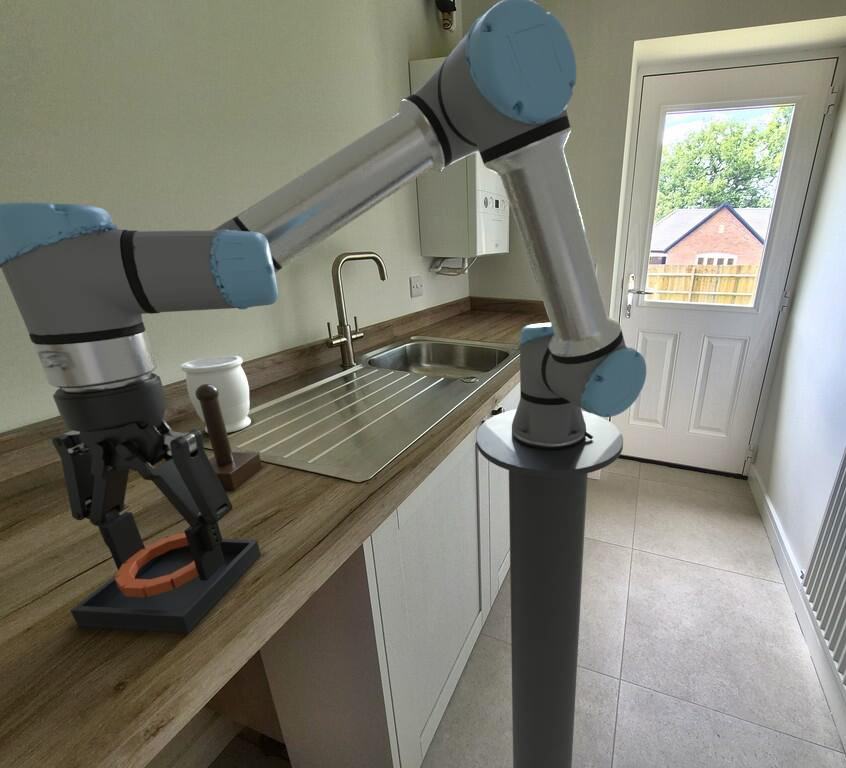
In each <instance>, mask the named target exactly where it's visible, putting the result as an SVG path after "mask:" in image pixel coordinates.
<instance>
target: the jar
mask: <svg viewBox="0 0 846 768" xmlns="http://www.w3.org/2000/svg"><path fill="white" fill-rule="evenodd" d="M242 364H243V357H242V356H240V355H214V356H208V357H201V358H197V359H193V360H190V361H189V360H188V361H187V362H184V363H182V364H181V365H180V366H181V370H182V371H183V372H184V373H186V377H185V383H186V390H187V394H188V397H189V399H190V402H191V404H192V405H193V407H194V410H195V412H196V414H197V416H198V418H199V419H200V420H201V421H202V422H203V424H206V423H205V419H204V416H203V412H202V408H201V405H200V401H199V400H198V399H197V398H196V395H195V392H196V389H197V388H198V387H199V386H201V385H203V384H211V385H214V386H215V387H216V388H217V389H218V391H219V396H218V400H219V404H220V408H221V412H222V416H223V420H224V423H225V427H226V431H227V434H230V433H234V432H237V431H240V430H243V429H244V428H247V427H248V426H250V425H251V423H252V420H251V418H250V417H249V416H248V415H249V412H250V406H251V405H250V387H249V382H248V378H247V374H246V373H245V371H244V369H243V367H242ZM204 431H205V433H206V434H208V430H207V427H206V426H204Z"/></svg>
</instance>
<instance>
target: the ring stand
mask: <svg viewBox="0 0 846 768" xmlns="http://www.w3.org/2000/svg"><path fill="white" fill-rule="evenodd" d="M195 395H196V398H197V399H198V400H199V401H200V405H201V408H202V412H203V416H204V419H205V423H204V424H205V427H207V430H208V433H207V434H208V438H209V441H210V445H211V449H212V452H213V457H211V458H209V461H210V463H211V465H212V467H213V469H214V471H215V473H216V475H217V477H218V479H219V481H220V483H221V485H222V486H223V488H224V490H231V491H232V490H233V491H234V490H236V489H237V488H239V487H240V486H241V485H242V484H244V483H245V482H246V481H247V480H249V479H250V478H251V477H252V476H254V475H255V474H256V473H257V472H259V471H260V470H261V469H262V468H263V465H262V462H261V457H260V453H259V452H240V451H239V452H238V451H237V452H236V451H232V448H231V443H230V440H229V436H228V433H227V431H226V427H225V423H224V420H223V416H222V412H221V408H220V404H219V400H218V396H219V391H218V389H217V388H216V387H215V386H214V385H211V384H203V385H201V386H199V387H198V388H197V389H196V392H195Z"/></svg>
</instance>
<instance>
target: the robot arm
mask: <svg viewBox="0 0 846 768" xmlns="http://www.w3.org/2000/svg"><path fill="white" fill-rule="evenodd" d="M576 84H577V61H576V56H575V52H574V48H573V45H572V42H571V40H570V37H569V35H568V34H567V32H566V30H565V28H564V27H563V25H562V23H561V22H560V21H559V19H557V17H555V15H554V13H552V12H551V11H547V10H546V9H545V8H543V6H542V5H541V4H540V3H538V2H536V1H534V0H501V1H499V2H497V3H496V4H494V5H493V6H492V7H490V8H489V9H488V11H486V12H485V13H483V14H481V15H479V16H478V17H477V19H475V21H474V22H473V23H472V25H470V28H469V30H468V31H467V33H465V35H464V37H463V38H462V39H461V40H460V41H459V43H458V44H457V45H456V46H455V47H454V49H453V50H452V51H451V52H450V53H449V54H448V55H447V56H446V57H445V59H444V60H443V61H442V62H441V64H440V65H439V66H438V67H437V68H436V70H435V71H434V72H433V73H432V74H431V75H430V77H429V78H428V79H427V80H426V81H425V82H424V83H423V84H422V85H421V86H420V87H419V88H418V89H416V90H415V91H414V92H412V93H411V94H410V95H408V96H407V97H405V98H404V99H402V100H400V101H399V103H398V107H397V113H396V114H395V115H393V116H392V117H391V118H389V119H388V120H386V121H384V122H383V123H381V124H380V125H378V126H376V127H375V128H373V129H372V130H370V131H368V132H367V133H366V134H363V135H361V136H360V137H359V138H357V139H356V140H354V141H352V142H351V143H349V144H348V145H346V146H345V147H343V148H342V149H340V150H338V151H336V152H335V153H333V154H332V155H330V156H328V157H327V158H325V159H324V160H323V161H321V162H319V163H318V164H316V165H314V166H313V167H311V168H310V169H308V170H306V171H305V172H303V173H302V174H300V175H298V176H297V177H296V178H294V179H292V180H291V181H289V182H287V183H285V184H284V185H282V186H281V187H280V188H277V190H275V191H273V192H272V193H270V194H268V195H267V196H265V197H263V198H262V199H260V200H259V201H258V202H256V203H254V204H253V205H251V206H250V207H248V208H246V209H245V210H243V211H241V212H240V213H239V214H236V216H234V217H232V218H231V219H229V220H226V221H225V222H223V223H222V224H221V225H218V226H217V227H216V228H214V229H211V230H209V229H208V230H145V231H143V230H141V231H139V230H137V229H136V230H128V229H119V228H118V225H117V224H115V223H114V221H113V219H112V216H111V214H110V213H109V211H107V210H105V209H104V208H102V207H100V206H96V205H95V206H94V205H86V204H73V203H72V204H71V203H50V202H2V203H0V269H1V271H2V273H3V276H4V278H5V280H6V283H7V285H8V287H9V289H10V292H11V294H12V296H13V299H14V301H15V304H16V306H17V308H18V311H19V313H20V315H21V317H22V321H23V323H24V325H25V327H26V329H27V332H28V334H29V336H28V337H29V339H30V341H31V342H32V344H33V346H34V349H35V352H36V354H37V357H38V359H39V361H40V362H39V363H40V364H41V367H42V370H43V372H44V375H45V378H46V380H47V383H48V385H50V386H52V387H55V388H58V389H57V390H55V392H54V393H53V394H52V398H53V400H54V402H55V405H56V408H57V410H58V413H59V416H60V417H61V420H62V423H63V425H64V426H65V428H67V429H68V430H70V431H68V432H65V433H63V434H60V435H58V436H55V437H53V438H52V439H51V443H52V444H53V447H54V448H55V451H56V452H57V454H58V456H59V457H60V460H61V465H62V470H63V475H64V480H65V486H66V490H67V497H68V502H69V507H70V512H71V516H72V517H73V519H74V520H76V521H82V520H84V519H87V520H89V522H90V524H91V525H93V526H95V527H97V528H98V529H99V532H100V535H101V536H102V539H103V542H104V544H105V546H106V547H107V548H108V549H109V552H110V554H111V557H112V559H113V561H114V564H115V566H116V568H117V572H118V571H119V569H120V567H121V565H122V564H124V563H125V561H127V560H128V559H129V558H131V557H132V556H133V555H135V554H136V553H137V552H139V551H140V550H141V549H144V547H145V544H144V542H143V539H142V536H141V534H140V531H139V528H138V525H137V523H136V520H135V517H134V515H133V512H132V511H125V510H126V509H128V508H129V507H130V505H128V504H127V503H125V499H126V492H127V488H128V487H127V486H128V480H129V474H130V471H135V472H137V473H138V474H139V475H140V476H141V478H142V479H143V480H145V481H151V482H153V484H154V485H155V486H156V487H157V489H159V491H160V492H161V494H162V495H164V497H165V498H166V499H167V500H168V501H169V503H170V504H171V505H172V506H173V508H175V510H176V511H177V512H178V513H179V515H181V517H182V518H183V519H184V520H185V522H186V523H187V524H188V525H189V526H188V527H187V528H186V529H184V532H183V533H185V535H186V538H187V541H188V544H189V547H190V550H191V553H192V556H193V559H194V562H195V565H196V568H197V571H198V575H199V578H200V580H204V581H207V580H208V579H209V578H210V577H211V576H212V575H213V574H214V573H215V572H216V571H217V570H218V569H219V568H220V567H221V566H222V565H223V564H224V563H225V561H224V557H223V554H222V551H221V547H220V544H221V543H222V539H223V535H222V533H221V530H220V527H219V521H220V520H222V518H224V517H225V516H227V514H229V513H230V512H231V511H232V510H233V504H232V502H231V500H230V498H229V496H228V495H227V492H226V491H225V490H226V489H224V488H223V486H222V485H221V483H220V481H219V479H218V477H217V475H216V473H215V471H214V469H213V467H212V465H211V463H210V461H209V460H210V458H209V457H208V454H207V453H206V451H205V447H204V442H203V435H202V433H201V431H200V430H199V429H197V428H195V429H193V428H192V429H191V430H189V431H187V432H179V431H173V429H172V427H170V425H169V424H168V422H167V421H166V420H165V416H164V415H165V412H166V410H167V408H168V406H169V402H168V399H167V396H166V392H165V389H164V386H163V382H162V379H161V377H160V376H159V375H158V374H157V373H154V371H155V370H156V369H157V368H158V364H157V362H156V358H155V355H154V353H153V349H152V346H151V343H150V341H149V340H150V339H149V337H148V334H147V331H146V327H145V324H144V321H143V317H142V315H145V314H150V315H153V314H160V313H172V312H174V313H175V312H190V311H191V312H193V311H208V310H209V311H210V310H226V309H227V310H229V309H238V310H246V309H248V308H253V307H254V308H255V307H261V306H262V307H263V306H271V305H273V304H275V303H276V302H277V301H278V299H279V289H278V283H277V277H276V273H278V272H279V271H280V270H282V269H283V268H284V267H286V266H288V265H289V264H291V263H292V262H294V261H295V260H297V259H298V258H300V257H301V256H303V255H304V254H305V253H307V252H309V251H310V250H311V249H313V248H314V247H316V246H318V245H319V244H320V243H322V242H323V241H325V240H326V239H328V238H329V237H331V236H332V235H334V234H335V233H337V232H339V231H340V230H341V229H343V228H344V227H346V226H348V224H350V223H352V222H353V221H354V220H356V219H358V218H359V217H360V216H362V215H363V214H365V213H367V212H368V211H370V210H371V209H373V208H374V207H376V206H377V205H379V204H381V202H383V201H384V200H386V199H387V198H389V197H391V196H392V195H393V194H395V193H396V192H398V191H399V190H401V189H402V188H404V187H405V186H407V185H409V184H410V183H411V182H413V181H414V180H416V179H418V178H419V177H421V175H423V174H425V173H426V172H427V171H429V170H430V171H433V172H436V173H439V172H442V171H443V170H444V169H446V168H447V167H449V166H451V165H452V164H454V163H457V162H458V161H460V160H462V159H464V158H466V157H468V156H471V155H474V154H476V153H479V155H480V158H481V161H482V163H483V167H484V168H486V169H488V170H490V171H492V172H493V173H495V174H497V175H498V176H499V177H500V179H501V182H502V185H503V188H504V191H505V194H506V197H507V200H508V203H509V206H510V209H511V212H512V215H513V218H514V220H515V223H516V226H517V230H518V233H519V235H520V238H521V241H522V244H523V247H524V250H525V252H526V253H525V254H526V256H527V259H528V262H529V264H530V267H531V270H532V273H533V276H534V279H535V281H536V285H537V288H538V290H539V293H540V294H539V295H540V297H541V299H542V302H543V305H544V309H545V312H546V314H547V317H548V319H549V322H543V323H534V324H529V325H526V326H523V328H522V329H521V331H520V337H519V343H518V347H519V386H520V387H519V388H520V392H519V393H520V394H519V395H520V398H519V402H518V404H517V408H516V409H517V410H516V413H515V416H514V419H513V422H512V436H513V438H514V439H515V440H516V441H517V442H518V443H520V444H522V445H524V446H527V447H530V448H534V449H540V450H562V449H568V448H571V447H574V446H577V445H579V444H580V443H582V442H583V441H584V439H585V437H586V436H587V437H588V438H589V439H592V438H593V436H591V435H590V434H589V433H587V432H586V424H585V421H584V417H583V414H582V411H585V412H589V413H592V414H595V415H597V416H600V417H602V418H612V417H616V416H618V415H620V414H622V413H624V412H625V411H627V410H628V409H629V408H630V407H631V406H632V405H633V404H634V403H635V401H636V400H638V397H639V396H640V393H641V391H642V390H643V388H644V385H645V382H646V378H647V363H646V360H645V357H644V356H643V355H642V354H641V353H640V352H639V351H637V350H636V349H635V348H633V347H628V346H627V345H626V341H625V338H624V334H623V331H622V326H621V325H620V322H619V321H618V320H616V319H614V318H612V317H609V316H608V313H607V308H606V306H605V302H604V298H603V294H602V290H601V287H600V282H599V278H598V275H597V271H596V268H595V264H594V260H593V256H592V253H591V249H590V245H589V241H588V237H587V234H586V230H585V226H584V222H583V219H582V214H581V211H580V208H579V204H578V200H577V197H576V192H575V187H574V185H573V181H572V177H571V173H570V170H569V166H568V163H567V158H566V155H565V151H564V150H565V145H566V143H567V141H568V138H569V136H570V134H571V132H572V127H571V124H570V120H569V116H568V112H567V107H568V105H569V104H570V102H571V99H572V98H573V94H574V91H573V89H574V87H575V86H576ZM163 459H164V462H163V463H161V464H159V465H157V464H158V463H160V462H162V461H163ZM155 465H157V466H156V467H154V466H155ZM88 501H89V502H88ZM86 502H87V503H86ZM123 511H124V513H122V512H123ZM120 513H121V514H120Z"/></svg>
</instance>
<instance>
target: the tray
mask: <svg viewBox="0 0 846 768" xmlns="http://www.w3.org/2000/svg"><path fill="white" fill-rule="evenodd" d="M168 537H169V536H165V537H164V538H167V539H168ZM220 547H221V551H222V554H223V557H224V561H225V563H224V564H223V565H222V566H221V567H220V568H219V569H218V570H217V571H216V572H215V573H214V574H213V575H212V576H211V577H210V578H209V579H208V580H207V581H204V580H200V578H199V576H198V577H196V578H194V579H192V580H190V581H189V582H187V583H185V584H183V585H181V586H180V587H178V588H175V587H174V588H173V590H171V591H167V592H164V593H160V594H157V595H153V596H150V597H148V596H146V597H126V595H125V596H124V595H123V593H122V592H121V591H120V589H119V588H118V586H117V583H116V581H115V576H116V575H114V576H112V578H110V579H109V580H108V581H106V582H105V583H103V584H102V585H101V586H100V587H98V588H97V589H95V590H94V591H93V592H92V593H91V594H89V595H88V596H87V597H86V598H84V599H83V600H81V601H80V602H79V603H77V604H76V605H75V606H74V607H72V608H71V609H70V612H71V615H72V617H73V619H74V622H75V624H76V626H77V627H78V628H88V629H89V628H90V629H101V630H102V629H103V630H104V629H105V630H122V631H136V632H154V633H167V634H168V633H171V634H185V635H186V634H187V635H189V634H190V633H191V632H192V631H193V630H194V629H195V627H197V625H198V624H199V623H200V622H201V621H202V620H203V619H204V618H205V616H206V615H208V613H209V612H210V611H211V610H212V609H213V608H214V607H215V606H216V605H217V603H218V602H220V600H221V599H222V598H223V597H224V596H225V595H226V594H227V593H228V592H229V590H231V588H232V587H233V586H234V585H235V584H236V583H237V582H238V581H239V579H241V577H243V575H244V574H245V573H247V571H248V570H249V568H251V567H252V565H254V563H255V562H256V561H257V560H258V559H259V558H260V557H261V550H260V546H259V542H258V540H257V539H237V538H236V539H234V538H222V543H221V544H220ZM193 561H194V559H193V556H192V553H191V550H190V547H189V545H188V546H184V547H180V548H176V549H172V550H169V551H167V552H165V553H163V554H161V555H159V556H157V557H155V558H153V559H151V560H150V561H149V562H148V563H146V564H145V565H144V566H143V567H141V568H140V569H139V570H138V572H137V574H136V576H135V579H148V580H151V579H154V578H158V577H161V576H165V575H169V574H172V573H174V572H176V571H177V570H179V569H181V568H183V567H185V566H187V565H189V564H190V563H192V562H193Z"/></svg>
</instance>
